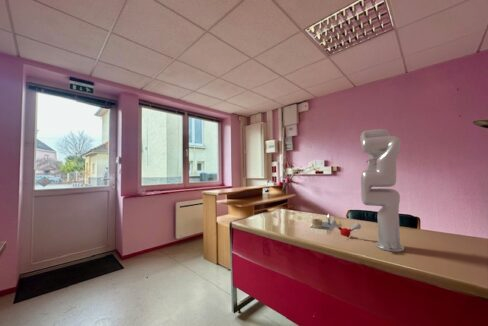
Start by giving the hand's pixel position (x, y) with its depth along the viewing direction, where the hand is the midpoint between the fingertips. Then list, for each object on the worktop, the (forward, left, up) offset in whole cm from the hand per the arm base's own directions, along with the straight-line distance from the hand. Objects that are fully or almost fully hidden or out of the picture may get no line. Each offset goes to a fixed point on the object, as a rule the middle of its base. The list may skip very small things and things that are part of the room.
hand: (376, 185), depth 148 cm
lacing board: (-20, +34, -30) cm, 49 cm away
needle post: (-15, +31, -28) cm, 44 cm away
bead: (-26, +37, -28) cm, 53 cm away
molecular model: (-35, +18, -30) cm, 49 cm away
